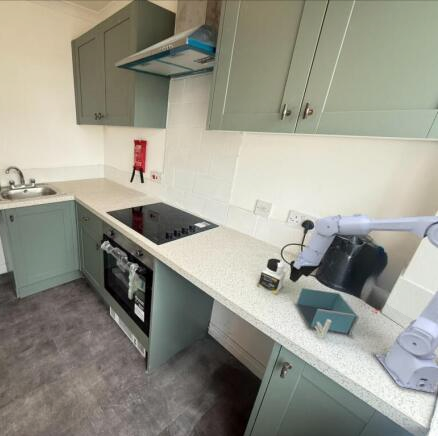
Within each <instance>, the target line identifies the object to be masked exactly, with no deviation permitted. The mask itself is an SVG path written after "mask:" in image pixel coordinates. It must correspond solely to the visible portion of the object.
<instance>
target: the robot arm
mask: <svg viewBox="0 0 438 436" xmlns="http://www.w3.org/2000/svg"><path fill="white" fill-rule="evenodd" d="M373 231H375V232H376V231H377V232H407V233H409V232H410V233H412V234H413V235H415V236H416V237H418V238H420V239H422V240H423V239H425V238H427V240H428V242H429V243H431V244H432V245H433V246H434V247H435V248H437V249H438V215H431V216H430V215H426V216H425V215H423V216H422V215H419V216H402V217H389V218H388V217H387V218H372V217H370V216H368V215H367V214H361V212H359V213H357V212H356V213H353V214H352V215H341V214H335V215H329V216H325V217H322V218H319V219H317V221H315V223H314V231H313V233H312V234H311V236H310V238H309V239H308V242H307V243H306V245H305V247H304V249H303V250H300V251H298V252H297V255H298V258H297V260H291V261H290V262H289V266H290V274H289V280H290V281H291V282H293V283H297V282H298V281H299V280H300V279H301V277H302V276H304V277H305V278H307V277H309V276H310V275H311V274H312V273H313V272H314V271H315V270H317V269H318V268H320V267H322V266H323V265H324V262H322V261H321V260H322V259H323V258H324V256H325V254H326V252H327V251H328V249H329V248H330V246H331V244H332V243H333V241H334V239H335V237H336V236H337V235H339V236H340V235H341V236H367V235H369V234H370V233H372V232H373ZM437 348H438V290H437V291H436V292H435V293H434V295H433V296H432V298H431V299H430V301H429V302H428V303H427V305H426V306H425V308H424V309H423V311H422V312H421V314H420V315H419V316H418V317H417V319H414V320H413V319H412V321H411V322H410V323H409V324H408V326H407V327H406V328H405V329H403V330H402V331H401V332H399V333H398V335H397V336H396V338H395V340H394V342H393V343H392V345H391V346H390V349H389V351H388V352H387V354H386V355H385V354H379V353H377V354H375V357H376V359H378V361H379V362H380V363H381V365H382V366H383V367H384V368H385V369H386V371H387V373H389V375H390V376H391V378H392V379H393V380H394V381H395V382H396V384H397V385H398V386H399V387H401V388H406V389H412V390H415V391H416V390H417V391H422V392H427V393H432V394H433V393H434V394H435V390H434V388H435V387H436V385H437V383H438V364H437V361H436V356H437V353H436V350H437Z"/></svg>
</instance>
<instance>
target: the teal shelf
mask: <svg viewBox="0 0 438 436" xmlns="http://www.w3.org/2000/svg"><path fill="white" fill-rule="evenodd" d="M354 317H355V315H354V314H349V313H343V312H336V311H329V310H323V309H317V312H316V315H315V317H314V320H313V322H312V325H311V327H314V328H316V329H315V330H316V331H317V333H318V335H319V338H320V339H321V340H325V339H326V336H327V333H328V332H329V331H328V330H332V331H338V332H344V333H347V332H348V330H349V328H350V326H351V323H352V321H353V319H354ZM319 328H320V329H319Z"/></svg>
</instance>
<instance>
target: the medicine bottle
mask: <svg viewBox="0 0 438 436" xmlns="http://www.w3.org/2000/svg"><path fill="white" fill-rule="evenodd" d="M285 267H286V264H285V262H284V261H283V260H280V259H278V258H269V259H268V261H267V264H266V267H264V269H262V271H261V273H260V277H259V280H258V286H259V287H261V288H263V289H265V290H267V291H269V292H271V293H273V294H277V293H278V292H279V290H280V289H281V288H282V287H283V284H284V281H285V278H286V274H287V272H286V271H284V270H285Z"/></svg>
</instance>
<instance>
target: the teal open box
mask: <svg viewBox="0 0 438 436" xmlns="http://www.w3.org/2000/svg"><path fill="white" fill-rule="evenodd" d="M295 306H296V307H297V310H298V311H299V313H300V316H301V317H302V319H303V321H304V322H305V324H306V326H307V328H308V329H311V330H316V328H314V327H311V325H312V322H313V320H314V317H315V315H316V312H317V309H323V310H329V311H336V312H343V313H349V314H354V315H355V317H354V319H353V321H352V323H351V326H350V328H349V330H348V332H347V333H344V332H338V331H332V330H328V331H327V332H329V333H336V334H342V335H347V337H351V335H352V333H353V331H354V329H355V326H356V324H357V323H358V320H359V317H360V315H358V314H357V312H356V311H354V310H353V308H352V307H351V306H350V305H349V303H348V302H347V301H346V300H345V299H344V297H343V296H342V295H341V293H338V292H334V291H333V292H331V291H324V290H318V289H310V288H303V287H302V288H301V289H300V292H299V295H298V299H297V301H296V304H295ZM319 329H320V328H319Z"/></svg>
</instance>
